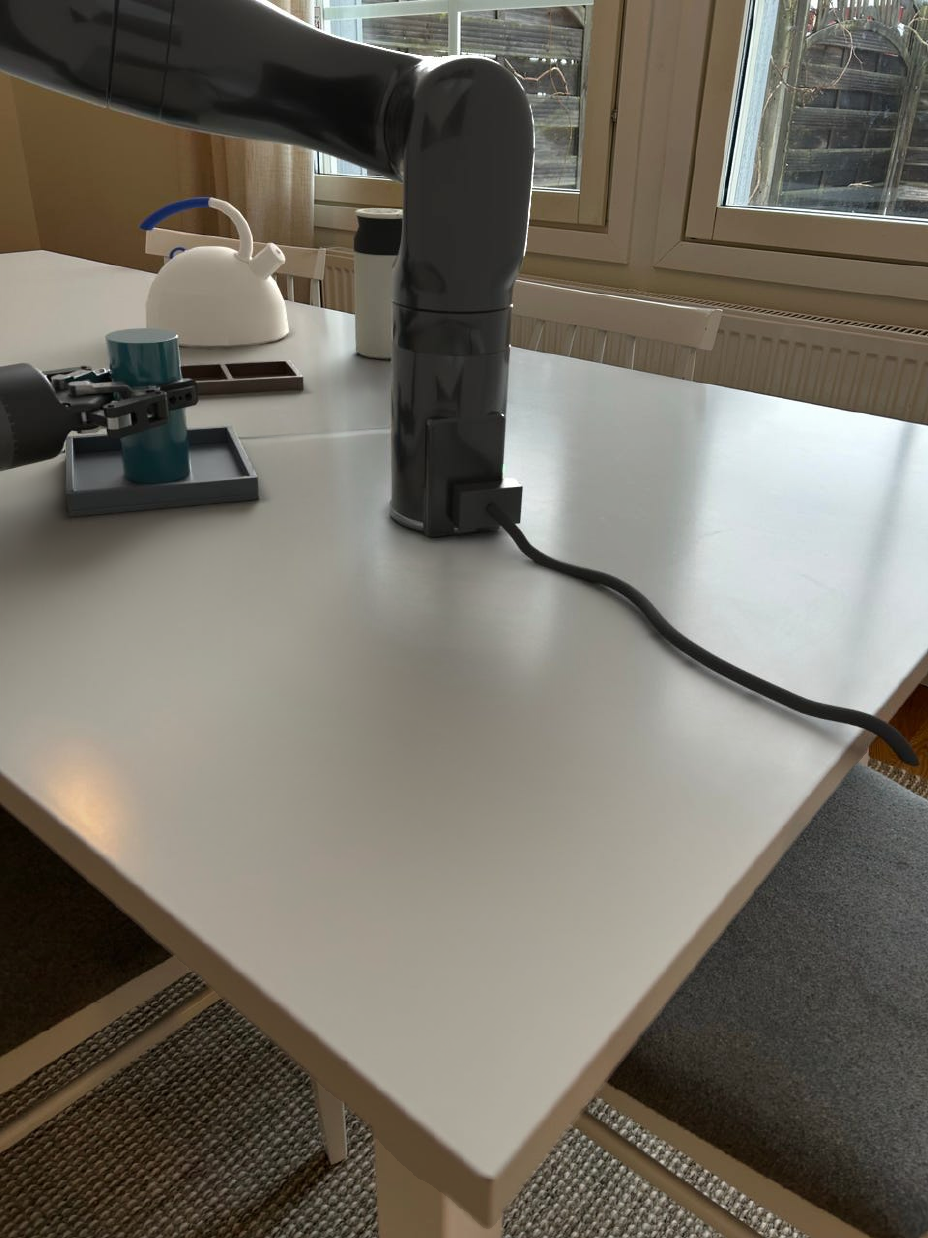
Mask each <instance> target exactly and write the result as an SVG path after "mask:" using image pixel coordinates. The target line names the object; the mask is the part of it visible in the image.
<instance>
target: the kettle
mask: <svg viewBox="0 0 928 1238" xmlns="http://www.w3.org/2000/svg"><path fill="white" fill-rule="evenodd" d="M196 208H212V209H215V210H218V211H221V212H222V213H223V214H225V215H226V216H228V217H229V219H230V220H231V221H232V223H233V224H234V226H235V227H236V230H237V233H238V237H239V247H238V251H237V250H236V249H233V248H230V247H227V246H215V245H211V246H208V245H205V246H196V247H192V248H191V249H190V248H189V249H188V250H187V248H185V247H183V246H177V247H174V248H173V249H172V250H171V251H170V253H169V261H168V262H167V263H165V264H164V265H163V266H162V267H161V268H160V270H159V271H158V272H157V274H156V275H155V277H154V279H153V280H152V281H151V284H150V288H149V290H148V295H147V298H146V301H145V328H154V329H164V330H169V331H173V332H175V333H177V335H178V343H179V347H188V348H208V347H232V346H234V347H235V346H253V345H254V346H255V345H257V346H258V345H264V344H270V343H274V342H277V341H279V340H281V339H284V338H285V337H286V336H287V335H288V333H289V332H290V328H289V322H288V316H287V307H286V302H285V300H284V297H283V295H282V293H281V290H280V288H279V286H278V284H277V282H276V281H275V280H274V277H272V275H273V274H274V273H275V272H276V271H277V270H278V269H279V268H280V267H281V266H282V265H285V263H286V256H285V254H284V253H283V251H282V250H281V248H279V246H278V245H276V244H275V243H273V242H267V244H266V246H265V247H263V249H262V250H260V251H259V252H258V253H257V254H256V255H254V257H252V256H253V251H254V242H253V241H254V240H253V239H254V238H253V234H252V231H251V228H250V226H249V223H248V222H247V220H246V219H245V217H244V216H243V215H242V213H241V212H240V211H239V210H238V209H237V208H235V207H234V206H233V205H232V204H230V203H229V202H228V201H225V200H221V199H218V198H214V197H212V196H202V197H192V198H186V199H181V200H178V201H175V202H172V203H169V204H166V205H164V206H162V207H161V208H159V209H157V210H155V211H154V212H153V213H151V214H150V215H148V216H147V217H146V218H145V219H144V220H143V221H142V222H141V223H140V225H139V227H138V228H140V229H141V230H143V231H149V232H151V231H153V230H154V228H155V227H157V226H158V224H159V223H160V222H162V221H164V220H165V219H167V218H169V217H171V216H172V215H175V214H178V213H180V212H183V211H187V210H192V209H196ZM177 251H182V252H181V253H178V254H176V255H175V256H174V254H175V253H176V252H177Z"/></svg>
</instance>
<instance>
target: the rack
mask: <svg viewBox="0 0 928 1238" xmlns="http://www.w3.org/2000/svg"><path fill="white" fill-rule="evenodd" d="M181 372H182V379H186V378H189V379H192V380H195V381H196V383H197V389H198V397H205V396H207V397H208V396H222V395H240V394H241V395H243V394H257V393H276V392H291V391H292V392H293V391H304V390H305V389H304V387H305V386H304V376H303V375H302V374H301V372H299V370H298V369H297V367H296V366H294V364H293V363H292V362H291V361H290V360H289V359H275V360H274V359H273V360H255V361H254V360H253V361H233V362H232V361H231V362H213V363H211V362H210V363H209V362H208V363H193V364H181Z"/></svg>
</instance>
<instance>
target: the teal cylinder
mask: <svg viewBox="0 0 928 1238" xmlns="http://www.w3.org/2000/svg"><path fill="white" fill-rule="evenodd" d="M104 341H105V348H106V353H107V354H106V356H107V361H108V363H107V364H108V369H109V370H110V377H111V382H120V381H124V382H126V383H127V384H128V385H129V386H130V387H136V386H149V385H157V384H162V383H168V382H172V381H177V380H181V379H182V372H181V365H182V363H181V354H180V353H181V352H180V346H179V343H178V335H177V333H175V332H173V331H169V330H164V329H154V328H146V327H139V328H137V327H136V328H126V329H119V330H114V331H110V332H109V333H107V334H105V335H104ZM113 395H114V400H115V401H117V402H118V401H121V399H120V394H119V393H118V392H113ZM134 397H136V396H134ZM168 414H169V423H167V424H165V425H161V426H158V427H155V428H152V429H148V430H145V431H142V432H139V433H136V434H133V435H129V436H126V437H123V438H119V443H120V450H121V457H122V464H123V472H124V476H125V477H126V478H127V479H129V480H131V481H135V482H140V483H165V482H171V481H176V480H179V479H182V478H184V477H186V476H188V475H189V474H190V473H191V460H190V450H189V441H188V431H187V428H188V423H187V413H186V408H181V409H177V410H173V411H168Z"/></svg>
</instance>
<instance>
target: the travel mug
mask: <svg viewBox="0 0 928 1238" xmlns="http://www.w3.org/2000/svg"><path fill="white" fill-rule="evenodd" d="M354 214H355V215H356V218H357V222H358V228H357V229H356V232H355V234H354V236H353V279H354V281H353V282H354V331H355V334H354V335H355V336H354V337H355V352H356V353H357V354H359V355H360V356H363V357H365V358H369V359H375V360H391V301H392V299H391V271H392V265H393V263H394V261H395V259H396V257H397V255H398V253H399V249H400V244H401V238H402V216H403V209H400V208H386V207H385V208H383V207H382V208H381V207H380V208H379V207H375V208H374V207H370V208H359V209H355V211H354Z"/></svg>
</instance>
